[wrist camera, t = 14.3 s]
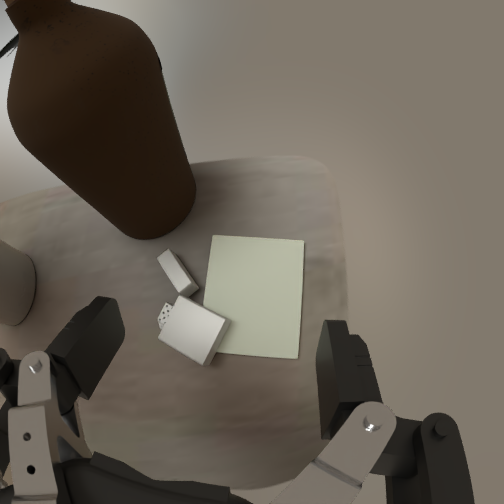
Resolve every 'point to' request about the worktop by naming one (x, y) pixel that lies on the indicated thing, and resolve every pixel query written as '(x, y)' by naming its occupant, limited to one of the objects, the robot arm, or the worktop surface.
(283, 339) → the mat
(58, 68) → the olive oil
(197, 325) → the lighter
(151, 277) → the worktop surface
